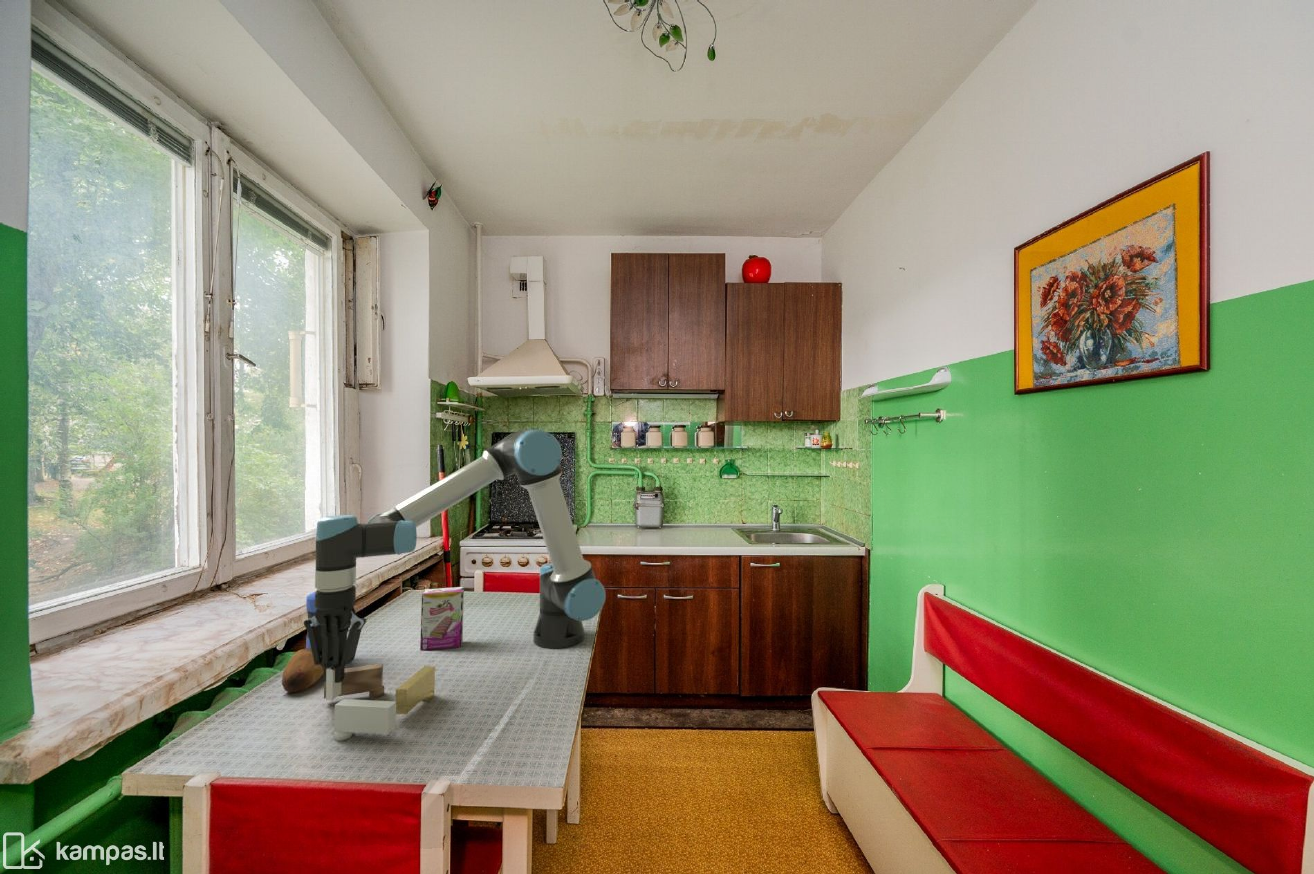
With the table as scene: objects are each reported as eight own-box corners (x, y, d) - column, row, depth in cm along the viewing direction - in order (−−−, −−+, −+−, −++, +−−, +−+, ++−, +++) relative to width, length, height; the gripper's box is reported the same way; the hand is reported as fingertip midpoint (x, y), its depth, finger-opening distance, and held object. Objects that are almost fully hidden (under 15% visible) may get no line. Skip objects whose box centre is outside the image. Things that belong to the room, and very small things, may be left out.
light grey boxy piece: (330, 740, 96) (331, 705, 96) (341, 731, 99) (342, 698, 99) (387, 743, 95) (387, 708, 96) (396, 734, 98) (397, 700, 98)
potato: (304, 710, 115) (268, 698, 112) (315, 673, 127) (282, 662, 124) (325, 682, 116) (290, 670, 112) (334, 648, 128) (303, 636, 124)
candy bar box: (419, 652, 141) (420, 593, 141) (422, 645, 146) (423, 588, 146) (462, 647, 144) (463, 590, 145) (463, 641, 149) (464, 585, 149)
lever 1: (385, 691, 116) (385, 662, 116) (383, 697, 113) (383, 667, 113) (326, 700, 112) (327, 670, 112) (323, 706, 109) (324, 675, 109)
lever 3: (424, 694, 115) (424, 665, 115) (436, 694, 114) (437, 665, 114) (393, 721, 103) (394, 689, 103) (407, 722, 103) (408, 689, 103)
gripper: (375, 583, 112) (373, 689, 112) (320, 581, 113) (318, 687, 113) (352, 592, 105) (349, 706, 104) (293, 591, 106) (291, 704, 105)
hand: (333, 696), depth 108 cm, fingers closed
